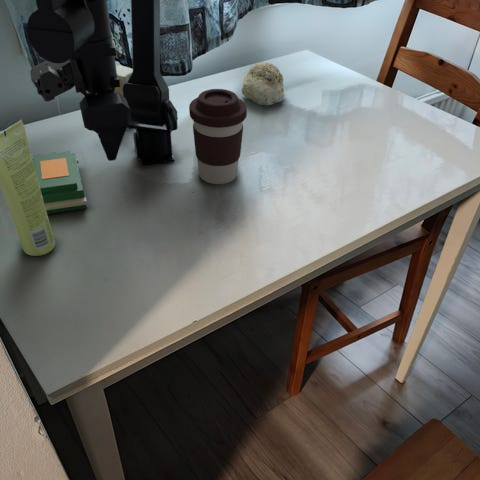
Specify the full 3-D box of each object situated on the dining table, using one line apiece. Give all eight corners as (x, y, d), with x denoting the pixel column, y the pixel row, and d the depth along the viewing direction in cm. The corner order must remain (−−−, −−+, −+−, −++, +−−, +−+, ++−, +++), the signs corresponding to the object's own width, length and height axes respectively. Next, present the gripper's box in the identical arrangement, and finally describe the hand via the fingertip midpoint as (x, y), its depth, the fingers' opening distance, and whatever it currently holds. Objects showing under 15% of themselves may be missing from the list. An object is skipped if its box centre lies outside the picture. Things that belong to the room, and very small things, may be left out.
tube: (22, 238, 85) (-18, 122, 70) (54, 233, 86) (22, 118, 72) (24, 260, 81) (-17, 142, 67) (57, 254, 82) (24, 137, 68)
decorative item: (234, 68, 124) (273, 49, 122) (248, 103, 130) (286, 86, 127) (236, 82, 115) (278, 63, 113) (251, 119, 120) (292, 101, 118)
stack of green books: (79, 167, 100) (74, 144, 96) (88, 211, 90) (83, 187, 87) (33, 173, 98) (26, 150, 94) (38, 219, 88) (31, 195, 85)
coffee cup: (184, 166, 101) (180, 88, 90) (231, 157, 104) (233, 81, 93) (202, 193, 95) (200, 113, 84) (252, 183, 98) (256, 104, 87)
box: (111, 123, 112) (103, 70, 104) (124, 115, 115) (117, 63, 107) (130, 130, 110) (124, 76, 102) (143, 122, 113) (137, 69, 105)
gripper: (22, 16, 73) (48, 123, 84) (28, 67, 61) (58, 184, 72) (103, 11, 76) (118, 115, 87) (124, 59, 64) (138, 173, 75)
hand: (107, 145), depth 80 cm, fingers open, 9 cm apart
